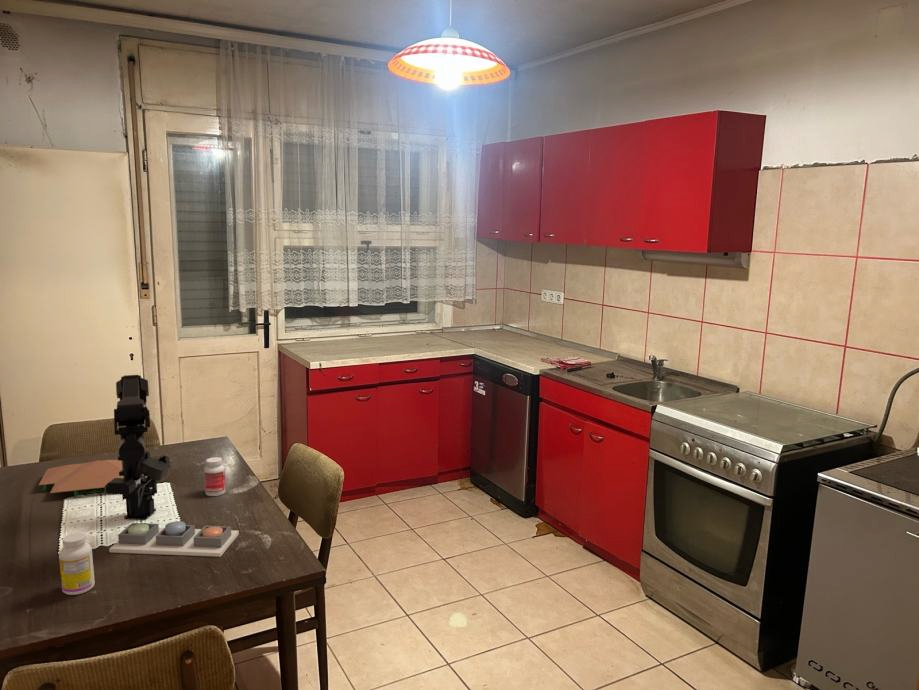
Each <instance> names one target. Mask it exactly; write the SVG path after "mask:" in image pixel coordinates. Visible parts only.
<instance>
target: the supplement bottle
mask: <svg viewBox="0 0 919 690" xmlns="http://www.w3.org/2000/svg"><path fill="white" fill-rule="evenodd" d="M61 541H62V545H63V547H62V548H61V549H60V551H59V552H58V560H59V570H60V571H59V572H60V581H61V590H62V593H64V594H66V595H69V596H76V595H80V594H84V593H87V592H89V591H90V590H91V589H92V588H93V587H94V586H95V583H96V582H95V570H94V569H95V568H94V559H93V549H92V548H93V547H92V546H91V544H90V543H88V542H87V535H86V534H85V533H84V532H73V533H70V534H66V535H65V536H64V537H63V538H62V540H61Z"/></svg>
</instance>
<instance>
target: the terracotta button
mask: <svg viewBox="0 0 919 690" xmlns="http://www.w3.org/2000/svg"><path fill="white" fill-rule="evenodd" d="M222 533H223V529H222V528H221V527H209V528H206V529H204V530H203V537H220V536H221V535H222Z"/></svg>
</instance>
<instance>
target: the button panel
mask: <svg viewBox="0 0 919 690" xmlns="http://www.w3.org/2000/svg"><path fill="white" fill-rule="evenodd" d="M137 524H147V525H148V526H149V530H148V531H147V532H146V533H145V534H128V528H129V527H131V526H133V525H137ZM185 526H186V532H185V533H184V534H183V535H182V536H171V535H165V527H159V523H149V522H148V523H145V522H144V523H143V522H132V523H130V524H129V525H128V526H126V527H125V528H124V529H123V530H122V531H121V532H120V533H118V534H117V539H118V541H117V542H115V543H114V544H113V545H112V546H111V547H109V548H108V550H109V553H118V554H141V555H165V556H166V555H168V556H170V555H171V556H193V557H213V558H214V557H216V558H218V557H219V558H220V557H222V555H223V554H224V553H225V552H226V550H227V549H228V548H229V547H230V546H231V544H232V543H233V542H234V541H235V540H236V538H237V537H238V536H239V534H240V533H239V532H240V531H239V530H233V529H232V527H231V526H230V525H229V526H223V525H204V526H203V527H202V528H196V525H194V524H185ZM209 527H221V528H222V529H223V533H222V535H221V536H220V537H203V530H204V529H206V528H209Z"/></svg>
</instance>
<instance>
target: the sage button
mask: <svg viewBox="0 0 919 690" xmlns="http://www.w3.org/2000/svg"><path fill="white" fill-rule="evenodd" d="M148 530H149V526H148V525H147V524H137V525H133V526H131V527H129V528H128V534H145V533H146V532H147V531H148Z"/></svg>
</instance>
